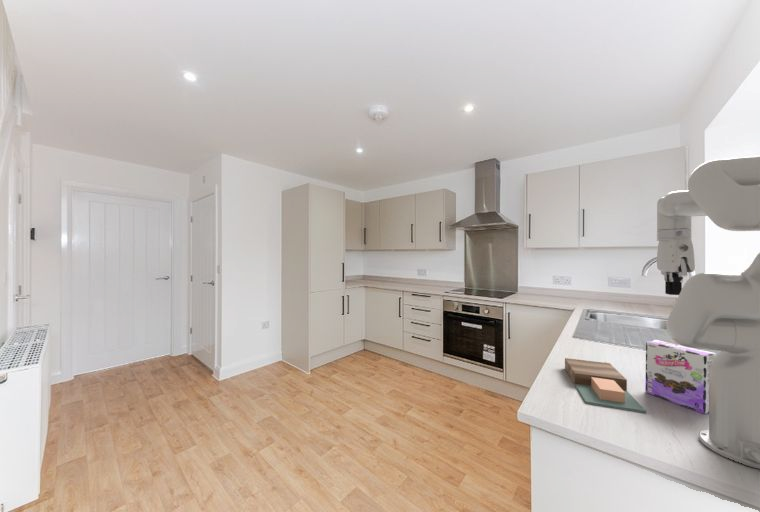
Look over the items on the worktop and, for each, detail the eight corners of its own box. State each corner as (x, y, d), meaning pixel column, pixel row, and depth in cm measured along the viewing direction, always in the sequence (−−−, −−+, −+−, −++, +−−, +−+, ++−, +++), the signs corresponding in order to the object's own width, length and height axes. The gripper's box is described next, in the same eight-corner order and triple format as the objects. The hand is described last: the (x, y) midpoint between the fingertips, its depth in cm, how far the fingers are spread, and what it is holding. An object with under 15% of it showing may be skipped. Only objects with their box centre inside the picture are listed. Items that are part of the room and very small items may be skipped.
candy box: (644, 392, 92) (644, 340, 92) (655, 389, 94) (655, 338, 94) (705, 415, 79) (705, 354, 79) (716, 410, 81) (717, 352, 81)
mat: (646, 413, 80) (646, 410, 80) (585, 403, 85) (585, 401, 85) (627, 393, 91) (627, 391, 91) (575, 385, 97) (575, 383, 97)
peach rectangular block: (625, 402, 84) (625, 392, 84) (600, 398, 86) (600, 388, 86) (613, 389, 92) (613, 380, 92) (591, 386, 95) (591, 377, 95)
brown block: (626, 392, 92) (626, 379, 92) (574, 384, 97) (574, 373, 97) (609, 374, 106) (609, 363, 106) (565, 368, 111) (565, 358, 111)
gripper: (707, 233, 82) (706, 298, 82) (674, 236, 96) (673, 292, 96) (673, 234, 84) (672, 297, 84) (645, 237, 98) (645, 291, 98)
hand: (673, 294), depth 90 cm, fingers closed
